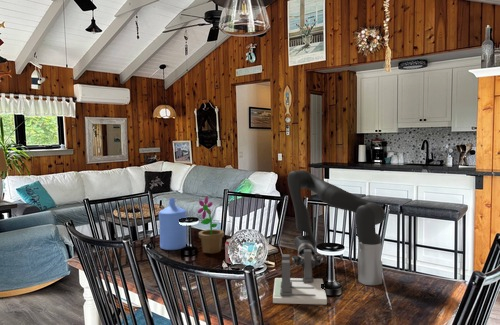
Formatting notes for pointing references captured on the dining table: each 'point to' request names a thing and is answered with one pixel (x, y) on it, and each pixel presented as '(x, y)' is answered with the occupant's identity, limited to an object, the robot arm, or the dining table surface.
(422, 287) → the dining table surface
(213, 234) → the flowerpot
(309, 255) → the lever
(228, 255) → the soda can
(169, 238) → the water jug
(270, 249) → the washcloth
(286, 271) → the near lever
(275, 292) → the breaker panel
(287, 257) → the middle lever
